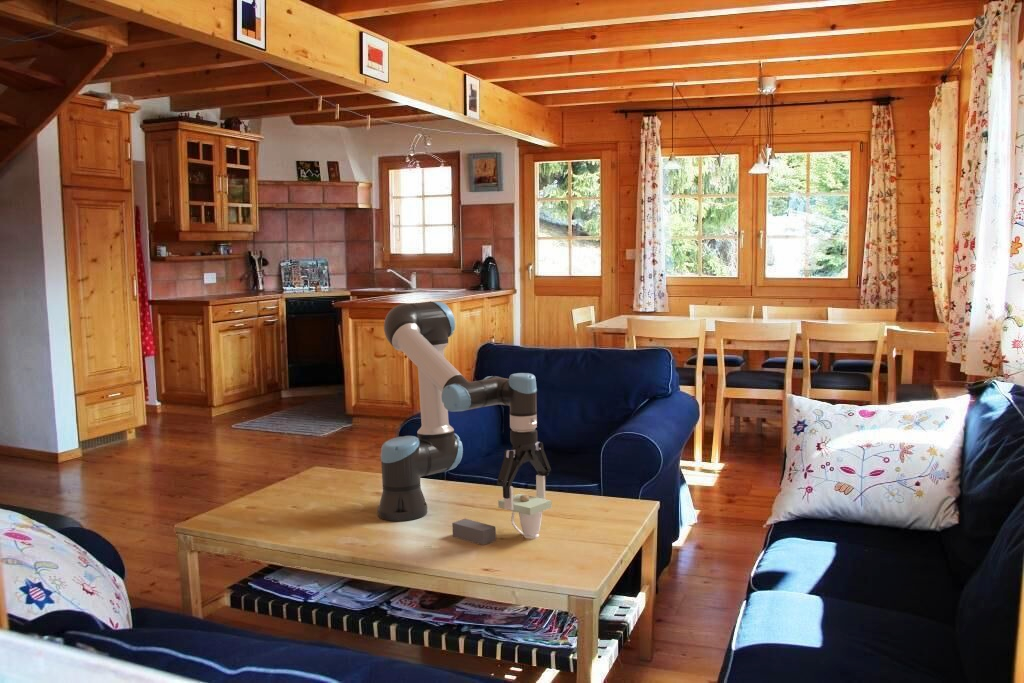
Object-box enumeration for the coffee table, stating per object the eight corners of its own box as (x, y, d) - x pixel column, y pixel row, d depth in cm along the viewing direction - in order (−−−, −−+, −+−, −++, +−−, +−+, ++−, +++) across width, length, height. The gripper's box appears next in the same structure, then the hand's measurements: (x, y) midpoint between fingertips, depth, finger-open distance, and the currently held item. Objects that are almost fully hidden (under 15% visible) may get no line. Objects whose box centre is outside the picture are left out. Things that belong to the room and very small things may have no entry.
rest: (452, 536, 246) (452, 522, 246) (465, 532, 250) (465, 518, 249) (483, 545, 238) (482, 531, 238) (495, 540, 242) (495, 526, 241)
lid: (498, 507, 245) (498, 496, 245) (519, 500, 252) (519, 489, 252) (530, 515, 237) (530, 503, 237) (551, 507, 244) (551, 496, 244)
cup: (534, 542, 240) (534, 513, 239) (505, 536, 245) (504, 508, 245) (548, 534, 245) (547, 506, 245) (519, 529, 251) (518, 501, 250)
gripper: (503, 439, 231) (504, 516, 233) (562, 423, 249) (563, 495, 251) (482, 435, 236) (484, 511, 238) (542, 420, 254) (543, 490, 256)
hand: (525, 503), depth 245 cm, fingers open, 13 cm apart
